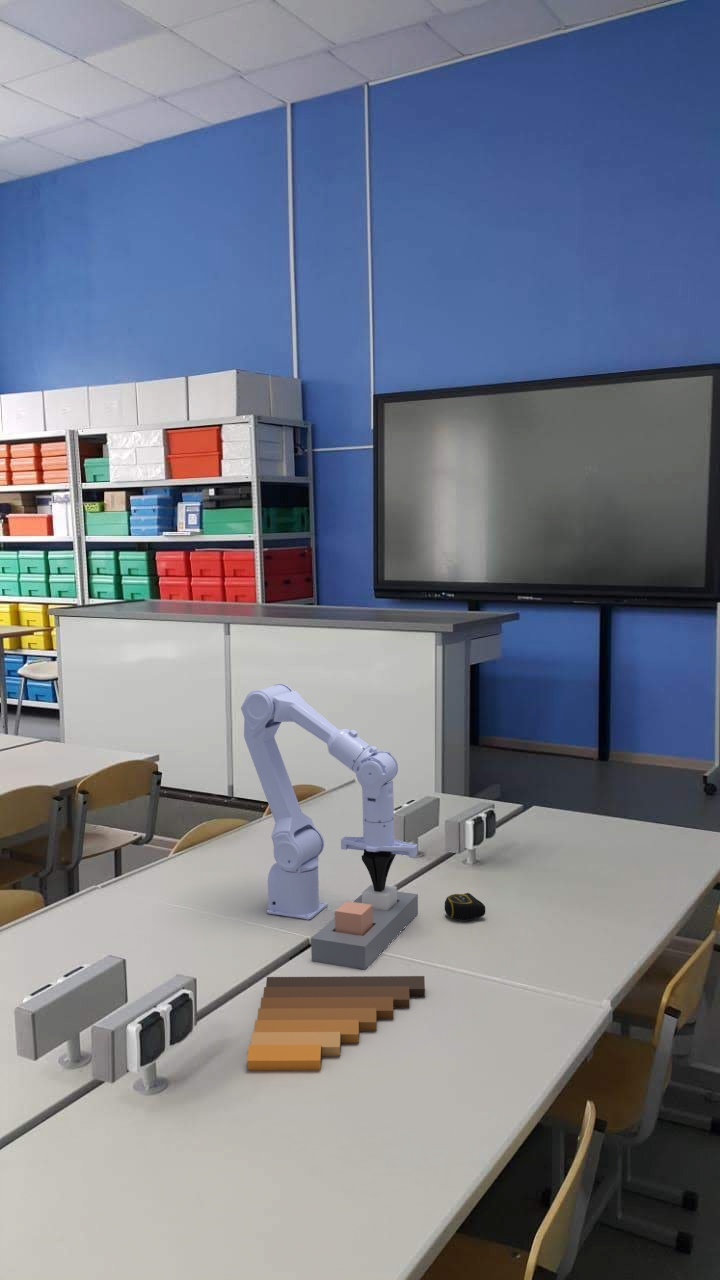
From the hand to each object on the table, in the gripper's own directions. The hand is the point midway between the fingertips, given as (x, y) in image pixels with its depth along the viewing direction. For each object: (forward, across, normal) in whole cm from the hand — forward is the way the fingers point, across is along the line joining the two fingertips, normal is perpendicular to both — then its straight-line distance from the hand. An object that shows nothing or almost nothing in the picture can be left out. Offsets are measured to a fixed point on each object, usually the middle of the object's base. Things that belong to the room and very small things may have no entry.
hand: (379, 889), depth 187 cm
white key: (+4, 0, 0) cm, 4 cm away
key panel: (+7, 0, -6) cm, 9 cm away
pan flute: (+7, +9, -38) cm, 40 cm away
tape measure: (+7, +14, +10) cm, 18 cm away
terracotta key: (+4, 0, -12) cm, 13 cm away
